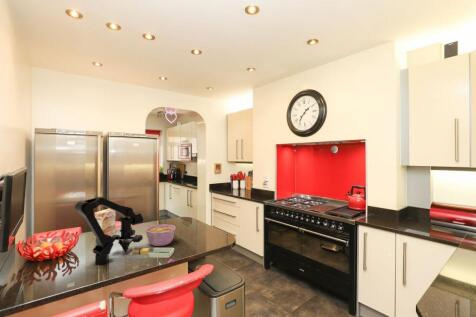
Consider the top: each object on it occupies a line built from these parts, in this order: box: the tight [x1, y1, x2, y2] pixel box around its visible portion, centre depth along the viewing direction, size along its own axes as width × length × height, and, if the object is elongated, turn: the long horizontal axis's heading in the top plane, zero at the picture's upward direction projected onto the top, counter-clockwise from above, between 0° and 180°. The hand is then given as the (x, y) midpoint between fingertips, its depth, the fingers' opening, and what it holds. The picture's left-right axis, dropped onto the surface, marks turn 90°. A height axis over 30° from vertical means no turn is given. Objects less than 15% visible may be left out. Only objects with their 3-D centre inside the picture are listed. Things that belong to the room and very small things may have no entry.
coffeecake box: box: [93, 208, 117, 239], centre depth 179 cm, size 15×7×20 cm, turn 171°
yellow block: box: [140, 247, 150, 254], centre depth 142 cm, size 4×4×3 cm
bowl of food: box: [145, 223, 176, 247], centre depth 161 cm, size 20×20×12 cm
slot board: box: [124, 247, 155, 259], centre depth 142 cm, size 11×14×2 cm
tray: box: [148, 247, 175, 259], centre depth 142 cm, size 9×13×3 cm
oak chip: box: [131, 247, 143, 254], centre depth 142 cm, size 4×4×3 cm
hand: (125, 252), depth 143 cm, fingers closed
